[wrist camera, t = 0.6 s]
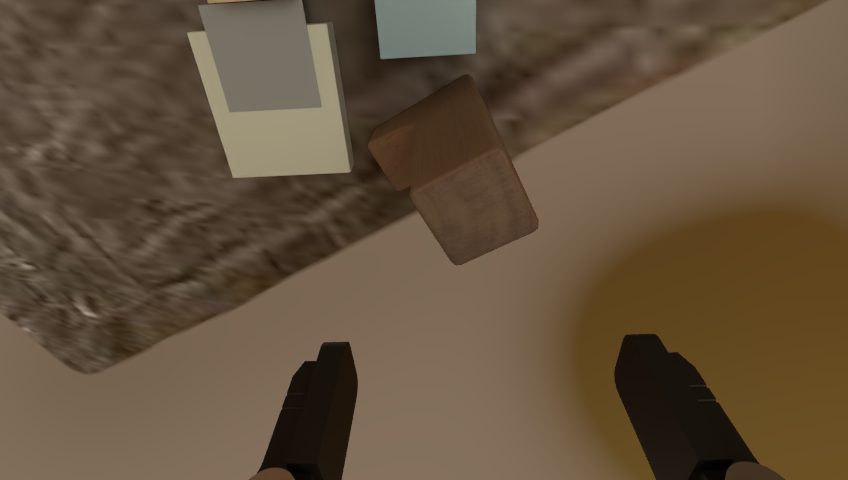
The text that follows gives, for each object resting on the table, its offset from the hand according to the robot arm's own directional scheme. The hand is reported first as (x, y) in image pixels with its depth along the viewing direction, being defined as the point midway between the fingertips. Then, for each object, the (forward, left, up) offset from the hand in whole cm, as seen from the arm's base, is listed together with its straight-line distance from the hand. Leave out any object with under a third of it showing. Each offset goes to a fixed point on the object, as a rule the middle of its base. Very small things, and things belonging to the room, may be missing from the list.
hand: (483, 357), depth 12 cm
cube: (-9, -2, -25) cm, 27 cm away
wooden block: (0, -2, -26) cm, 26 cm away
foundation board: (-2, -14, -25) cm, 29 cm away
